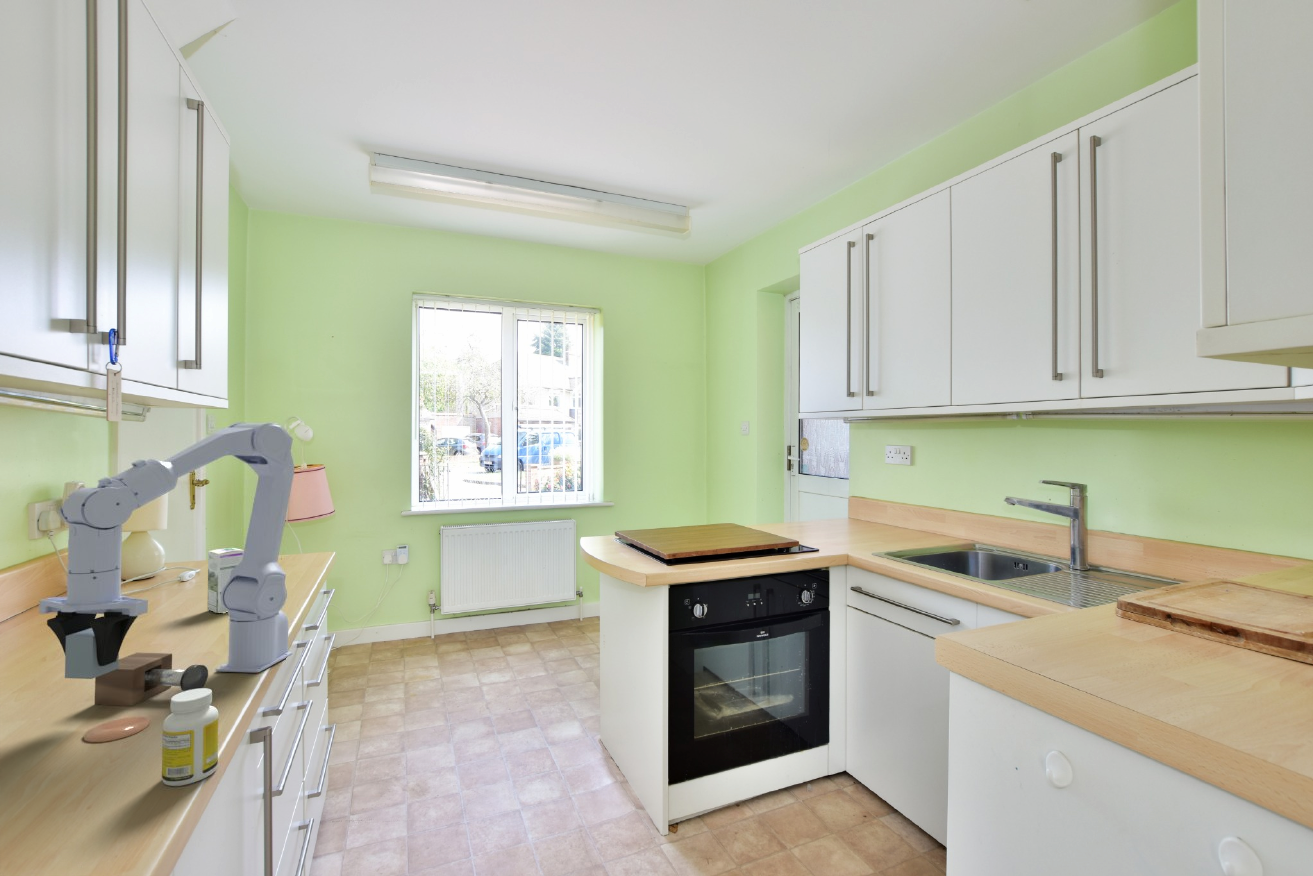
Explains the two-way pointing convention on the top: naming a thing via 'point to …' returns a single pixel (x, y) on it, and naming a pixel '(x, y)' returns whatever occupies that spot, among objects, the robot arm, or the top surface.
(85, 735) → the plate
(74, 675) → the block
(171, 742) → the supplement bottle
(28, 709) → the top surface
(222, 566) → the syrup box
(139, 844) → the top surface
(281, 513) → the robot arm
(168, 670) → the rod
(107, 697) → the rod housing
